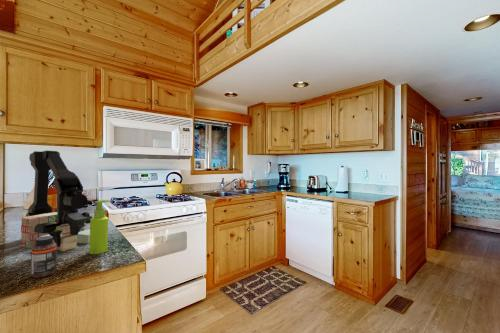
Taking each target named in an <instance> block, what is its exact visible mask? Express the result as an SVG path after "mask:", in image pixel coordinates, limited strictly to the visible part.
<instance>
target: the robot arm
mask: <svg viewBox="0 0 500 333" xmlns="http://www.w3.org/2000/svg"><path fill="white" fill-rule="evenodd" d="M28 156H29V157H28V159H29V162H30V166H31V167H32V169H33V170H34V185H33V186H34V188H33V202H32V204H30V206H29V207H28V208H27V209H28V210H27V213H26V214H25V216H24V217H28V216H34V215H40V214H46V213H52V212H53V207H52V206H51V205H50V204H49V203H48V194H49V179H50V178H49V177H50V171H51V172H52V174H53V175H54V180H53V181H52V182H53V186H54V188H55V190H56V191H57V192H56V195H57V206H56V207H57V208H56V209H55V210H54V212H57V219H55V222H57V223H48V222H47V223H42V224H37V225H36V226H35V228H34V232H37V233H43V234H44V233H49V235H50V236H52V237H53V240H54V242H55V243H56V244H57V247H60V243H61V241H60V234H61V232H62V231H63V230H60V227H63V226H68V225H70V234H72V235H78V233H79V231H80V229H81V228H82V227H84V226H85V227H86V225H89V224H90V219H91V218H94V216H92V215H90V212H89V211H84V212H80V213H79V210H80V209H83V208H84V207H86V206H87V204H88V202H89V200H88V197H87V195H85V194H83V192H84V186H83V184H82V183H81V180H80V178H79V177H78V175H76V173H75V172H72V171H71V170H69V169H68V167H67V166H66V163H65V162H64V161H63V159H62V157H61V153H60V152H59V151H57V150H43V151H37V150H36V151H35V150H34V151H33V152H31V153H30V154H29V155H28ZM61 224H62V225H61ZM84 224H85V225H84Z"/></svg>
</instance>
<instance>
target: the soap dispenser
mask: <svg viewBox="0 0 500 333" xmlns="http://www.w3.org/2000/svg"><path fill="white" fill-rule="evenodd" d="M110 202H111V200H108V199H107V200H106V199H101V200H96V201H94V204H96V208H95V209H94V212H93V218H91V219H90V223H89V229H90V243H89V254H90V255H99V254H104V253H106V252H108V246H109V244H108V242H109V241H108V240H109V239H108V238H109V217H107V216H105V214H106V213H105V210H106V209H105V208H103V203H110Z"/></svg>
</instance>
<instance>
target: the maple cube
mask: <svg viewBox="0 0 500 333" xmlns="http://www.w3.org/2000/svg"><path fill="white" fill-rule="evenodd" d="M60 241H61V243H60V247H57V251H58V250H60V251H59V252H63V251H64V252H66V250H67V251H69V249H70V250H73V249H76V248H78V247H77V244H78V242H77V235H72V234H66V235H62V236H60Z"/></svg>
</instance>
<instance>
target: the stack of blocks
mask: <svg viewBox="0 0 500 333" xmlns="http://www.w3.org/2000/svg"><path fill="white" fill-rule="evenodd" d="M55 219H57V212H55V211H52V213H46V214H40V215H34V216H28V217H25V216H24V217H21V224H20V233H21V234H20V236H21V239H20V240H21V241H20V246H21V247H22V248H26V249H32V247H33V246H35V244H36V239H37V238H39V237H40V236H44V235H48V234H49V233H44V234H43V233H37V232H34V228H35V226H36V225H37V224H42V223H47V222H48V223H57V222H55ZM61 225H62V224H61ZM84 225H86V223H85V224H84ZM85 228H86V226H84V227H82V228H81V229H80V231H79V232H81V231H84V230H85ZM60 230H63V231H62V232H61V234H63V235H66V234H70V225H68V226H63V227H60Z"/></svg>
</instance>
